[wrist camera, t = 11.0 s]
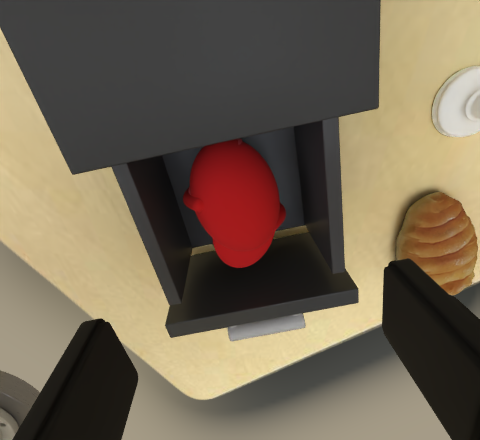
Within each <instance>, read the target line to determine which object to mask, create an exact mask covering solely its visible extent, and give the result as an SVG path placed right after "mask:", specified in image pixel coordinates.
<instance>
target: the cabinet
mask: <svg viewBox="0 0 480 440" xmlns="http://www.w3.org/2000/svg"><path fill="white" fill-rule="evenodd" d="M0 28H1V30H2V32H3V34H4V36H5V38H6V40H7V42H8V44H9V46H10V48H11V50H12V52H13V54H14V56H15V58H16V61H17V63H18V65H19V67H20V69H21V71H22V73H23V75H24V77H25V79H26V81H27V83H28V85H29V87H30V89H31V91H32V93H33V95H34V97H35V99H36V101H37V103H38V105H39V108H40V110H41V112H42V114H43V116H44V118H45V120H46V122H47V124H48V126H49V128H50V130H51V132H52V134H53V136H54V138H55V140H56V142H57V144H58V146H59V148H60V150H61V152H62V155H63V157H64V159H65V161H66V163H67V165H68V167H69V169H70V171H71V173H72V174H79V173H83V172H88V171H93V170H97V169H102V168H106V167H111V166H116V165H120V164H125V163H129V162H134V161H139V160H143V159H148V158H152V157H157V156H161V155H166V154H171V153H175V152H180V151H184V150H189V149H194V148H198V147H203V146H207V145H212V144H217V143H221V142H226V141H230V140H235V139H240V138H244V137H249V136H253V135H258V134H263V133H267V132H272V131H276V130H281V129H285V128H290V127H295V126H299V125H304V124H308V123H313V122H318V121H322V120H327V119H331V118H336V117H341V116H345V115H350V114H354V113H359V112H364V111H368V110H373V109H377V108H378V107H379V54H380V0H0Z"/></svg>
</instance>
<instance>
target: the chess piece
mask: <svg viewBox="0 0 480 440" xmlns="http://www.w3.org/2000/svg"><path fill="white" fill-rule="evenodd" d="M432 120H433V124H434V126H435V128H436V129H437V130H438V131H439V132H440V133H441V134H443V135H445V136H449V137H466V136H470V135H473V134H475V133H477V132H479V131H480V66H471V67H467V68H464V69H462V70H460V71H458V72H457V73H455V74H454V75H452V76H451V77H450V78H449V79H448V80H447V81H446V82H445V83H444V84H443V85H442V87H441V88H440V90H439V91H438V93H437V95H436V97H435V100H434V103H433V107H432Z"/></svg>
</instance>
